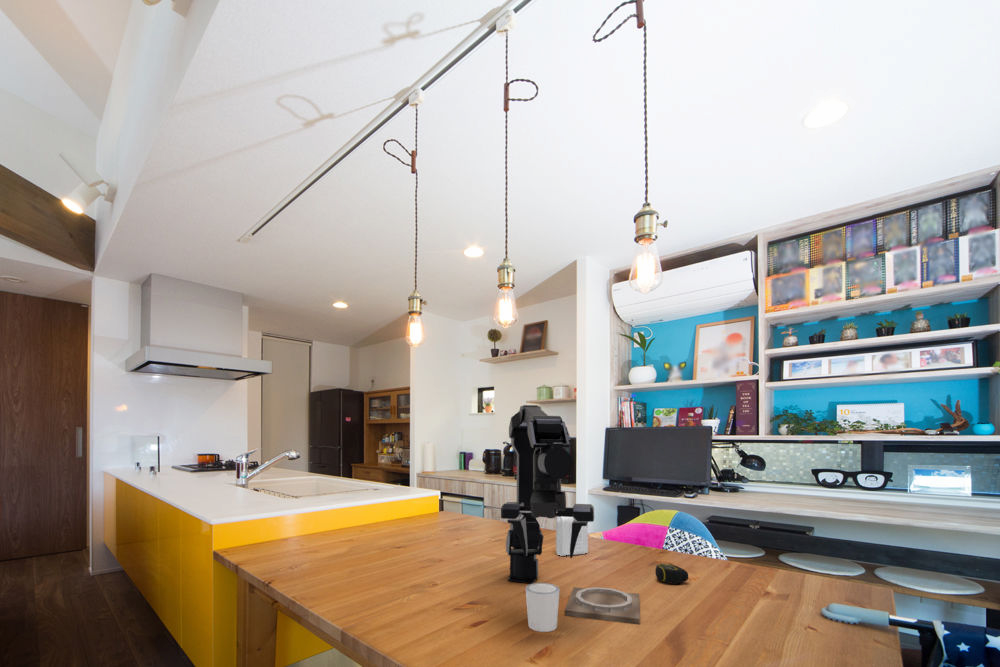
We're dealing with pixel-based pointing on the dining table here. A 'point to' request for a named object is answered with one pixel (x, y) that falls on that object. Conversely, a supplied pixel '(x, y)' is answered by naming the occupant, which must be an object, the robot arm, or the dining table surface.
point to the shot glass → (542, 606)
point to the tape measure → (671, 573)
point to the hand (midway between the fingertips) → (548, 556)
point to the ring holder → (604, 605)
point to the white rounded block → (565, 537)
